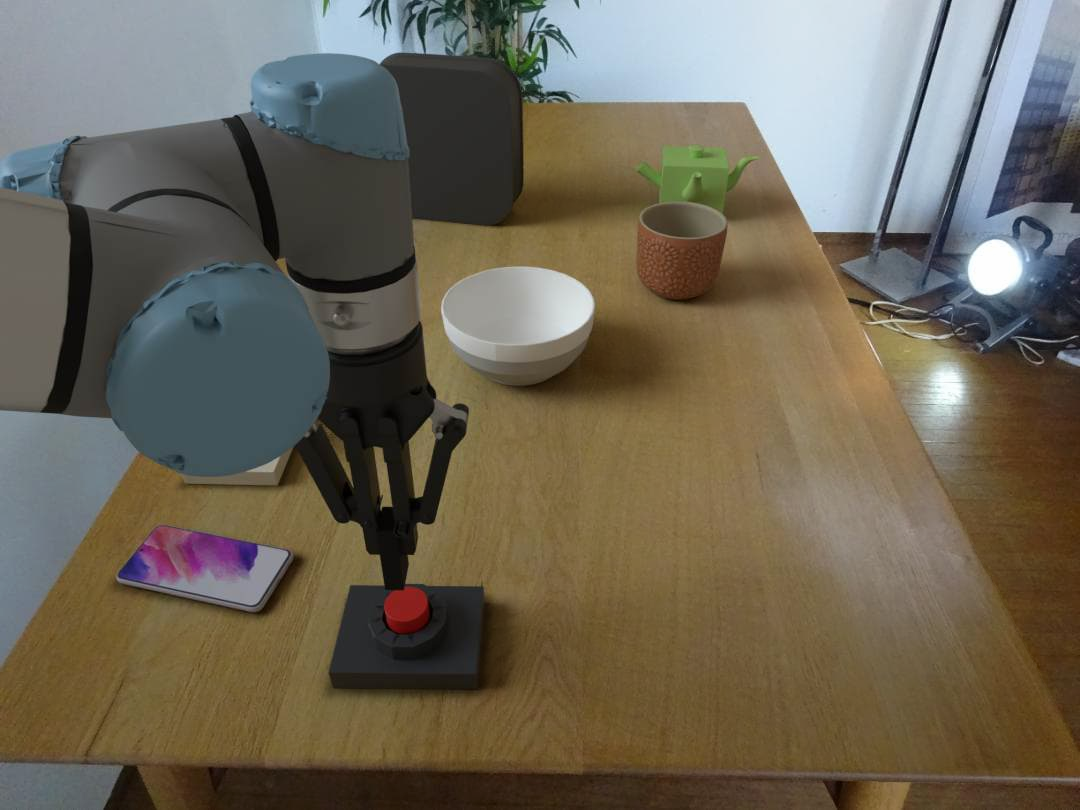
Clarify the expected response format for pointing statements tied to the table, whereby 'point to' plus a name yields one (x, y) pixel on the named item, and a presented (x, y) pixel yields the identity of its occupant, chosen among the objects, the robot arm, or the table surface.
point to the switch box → (410, 641)
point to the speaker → (461, 135)
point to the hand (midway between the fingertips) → (397, 576)
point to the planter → (680, 248)
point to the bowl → (518, 323)
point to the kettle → (695, 175)
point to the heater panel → (248, 474)
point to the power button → (407, 610)
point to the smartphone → (206, 567)
